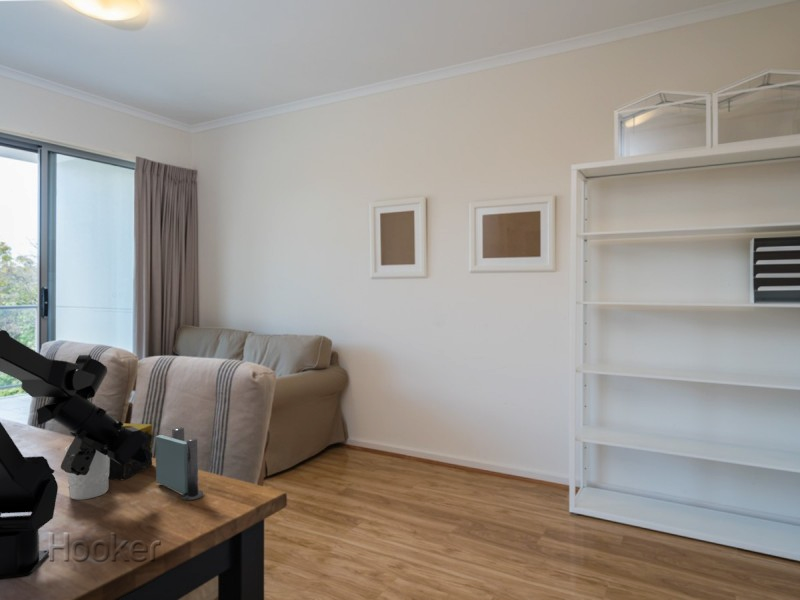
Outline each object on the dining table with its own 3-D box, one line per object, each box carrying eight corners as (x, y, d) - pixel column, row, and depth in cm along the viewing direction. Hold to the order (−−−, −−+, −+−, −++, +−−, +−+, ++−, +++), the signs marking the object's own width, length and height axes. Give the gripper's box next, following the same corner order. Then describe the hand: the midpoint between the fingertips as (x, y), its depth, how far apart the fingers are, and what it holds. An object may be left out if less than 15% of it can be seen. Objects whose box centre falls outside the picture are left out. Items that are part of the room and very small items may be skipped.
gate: (190, 491, 102) (189, 442, 102) (184, 493, 101) (184, 444, 101) (161, 480, 108) (160, 434, 108) (156, 482, 107) (155, 436, 107)
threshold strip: (191, 491, 103) (191, 490, 103) (182, 495, 101) (182, 493, 101) (169, 480, 109) (169, 479, 109) (160, 483, 108) (160, 482, 108)
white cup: (90, 502, 98) (89, 452, 98) (56, 499, 100) (55, 450, 100) (120, 487, 106) (119, 440, 106) (88, 484, 108) (87, 438, 107)
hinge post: (201, 499, 99) (200, 442, 99) (180, 501, 98) (179, 443, 98) (205, 491, 103) (204, 436, 103) (184, 493, 102) (183, 437, 102)
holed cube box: (82, 479, 111) (81, 434, 110) (114, 463, 121) (114, 422, 120) (124, 481, 109) (123, 436, 109) (153, 465, 119) (152, 423, 119)
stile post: (185, 483, 108) (184, 430, 107) (169, 484, 107) (168, 431, 107) (188, 478, 111) (187, 426, 110) (172, 479, 110) (172, 427, 110)
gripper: (29, 445, 93) (96, 485, 102) (62, 467, 81) (134, 511, 90) (77, 396, 99) (136, 438, 108) (114, 410, 87) (177, 456, 96)
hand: (144, 460), depth 100 cm, fingers closed
